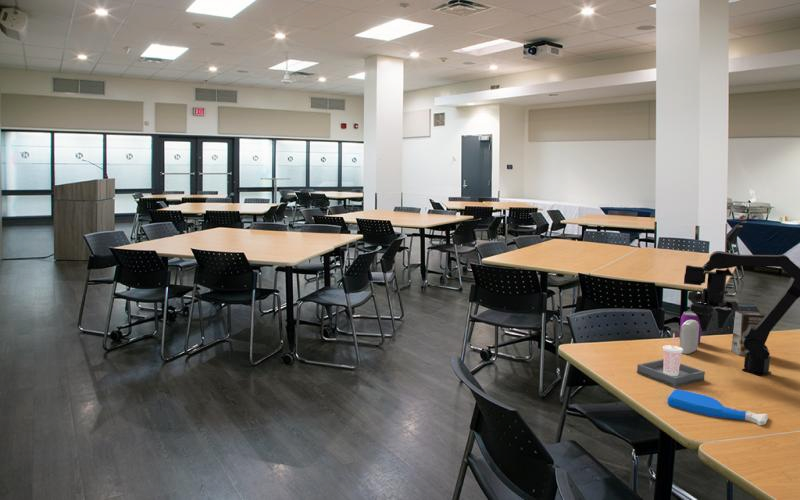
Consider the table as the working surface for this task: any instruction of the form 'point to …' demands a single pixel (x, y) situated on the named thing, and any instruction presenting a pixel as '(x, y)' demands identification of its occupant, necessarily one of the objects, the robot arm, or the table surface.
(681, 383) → the tray
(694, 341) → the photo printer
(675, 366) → the beverage cup
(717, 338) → the table surface
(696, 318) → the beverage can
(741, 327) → the coffee box
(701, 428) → the table surface
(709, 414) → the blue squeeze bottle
